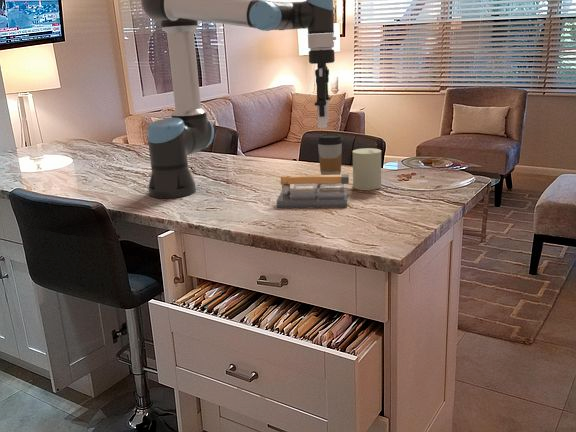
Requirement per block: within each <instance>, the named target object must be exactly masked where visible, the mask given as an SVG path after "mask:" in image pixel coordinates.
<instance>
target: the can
mask: <svg viewBox="0 0 576 432" xmlns="http://www.w3.org/2000/svg"><path fill="white" fill-rule="evenodd" d="M382 187H383V185H382V150H381V149H379V148H372V147H370V148H369V147H368V148H367V147H366V148H356V149H354V150H352V188H353V189H356V190H360V191H374V190H379V189H381V188H382Z"/></svg>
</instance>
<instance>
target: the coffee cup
mask: <svg viewBox="0 0 576 432" xmlns="http://www.w3.org/2000/svg"><path fill="white" fill-rule="evenodd" d="M317 147H318V159H319V160H318V161H319V169H320V171H319V172H320V175H342V174H341V172H342V156H343V155H342V154H343V153H342V151H343V150H342V148H343V138H342V136H341V134H339V133H335V134H334V133H329V134H327V133H326V134H320V135H318V139H317Z"/></svg>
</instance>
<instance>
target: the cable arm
mask: <svg viewBox="0 0 576 432" xmlns="http://www.w3.org/2000/svg"><path fill="white" fill-rule="evenodd" d="M349 181H350V175H349V173H342V174H340V175H321V174H309V175H308V174H306V175H305V174H304V175H301V174H300V175H299V174H298V175H281V176H280V185H282V184H290V185H295V184H318V185H321V184H344V185H348V184H350V183H349Z"/></svg>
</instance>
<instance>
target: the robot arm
mask: <svg viewBox="0 0 576 432" xmlns="http://www.w3.org/2000/svg"><path fill="white" fill-rule="evenodd" d="M140 2H141V3H140V4H141V7H142V9H143V11H144V13H145V14H146V15H147V17H149V18H150V19H152V20H153V21H156V22H157V21H158V22H160V26H161V30H162V31H163V32H165V33H166V37H167V45H168V55H169V65H170V72H171V73H170V74H171V82H172V90H173V92H172V93H173V101H174V110H173V111H172V112H171V115H170V116H171V117H166V118H165V117H164V118H163V119H157V120H155V121H152V122H150V123H149V124H148V126H147V130H146V131H147V132H146V133H147V142H148V143H147V144H148V151H149V158H150V168H151V174H150V177H149V178H150V179H149V183H148V196H150V197H151V196H152V198H155V197H157V198H156V199H174V198H180V197H186V196H189V195H192V194H194V193H195V192H196V191H197V187H196V183H195V181H194V180H195V179H194V178H193V175H192V173H191V171H190V169H189V168H190V167H189V163H188V156H189V155H192V154H195V153H199V152H202V151H203V150H205V149H207V148H208V147H210V145H211V144H212V143H213V140H214V137H215V129H214V128H215V127H214V125H213V122H212V121H211V120H210V119H209V118H208V117H207V111H206V110H205V109H204V108H203V107H202V104H201V94H200V93H201V92H200V82H199V73H198V61H197V54H196V53H197V51H196V41H195V31H196V29H198V27H199V23H198V21H199V22H200V21H201V22H207V23H214V24H223V25H231V26H237V27H246V28H253V29H257V30H260V31H265V32H267V31H285V30H286V31H287V30H300V29H301V30H303V29H304V30H305V29H307V44H308V47H307V48H308V49H309V50H308V63H309V64H310V65H313V64H314V65H316V64H317V66H316V67H317V68H316V69H315V70H314V75H315V84H316V102H314V106H316V107H317V109H316V110H317V111H316V113H317V129H325V128H328V123H330V114H329V113H330V110H329V107H330V105H329V101H331V96H329V84H328V83H329V82H330V81H329V79H330V78H329V75H330V69H329V68H328V66H327V64H333V63H335V59H336V58H335V50H334V49H333V48H334V47H335V41H336V40H337V37H336V36H335V35H334V33H335V26H334V22H335V21H334V20H335V19H334V17H335V16H334V15H335V14H334V12H335V9H334V0H305V1H292V2H288V1H287V2H283V1H273V0H140Z"/></svg>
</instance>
